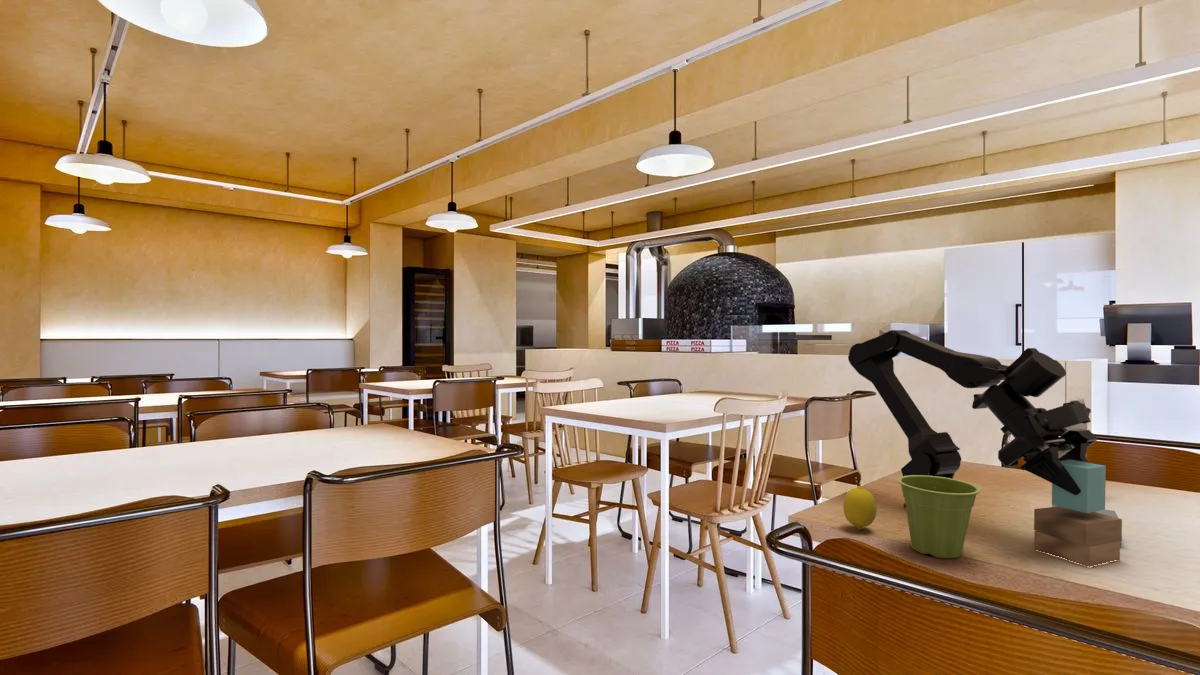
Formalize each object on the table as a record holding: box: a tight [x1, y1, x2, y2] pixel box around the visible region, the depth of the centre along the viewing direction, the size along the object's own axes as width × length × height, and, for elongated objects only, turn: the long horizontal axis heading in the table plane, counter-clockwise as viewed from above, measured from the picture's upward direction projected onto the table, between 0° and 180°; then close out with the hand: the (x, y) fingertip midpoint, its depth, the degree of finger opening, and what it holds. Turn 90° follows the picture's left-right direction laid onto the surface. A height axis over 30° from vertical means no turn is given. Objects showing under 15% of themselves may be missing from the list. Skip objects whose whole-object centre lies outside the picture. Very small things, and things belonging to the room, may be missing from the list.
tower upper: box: [1033, 506, 1123, 546], centre depth 97 cm, size 8×8×4 cm
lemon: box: [842, 485, 877, 530], centre depth 109 cm, size 6×6×8 cm
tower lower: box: [1033, 530, 1121, 567], centre depth 96 cm, size 8×8×4 cm
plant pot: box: [897, 475, 981, 559], centre depth 98 cm, size 12×12×11 cm
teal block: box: [1051, 460, 1107, 513], centre depth 96 cm, size 5×5×7 cm
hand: (1087, 491), depth 95 cm, fingers closed on teal block, 5 cm apart
